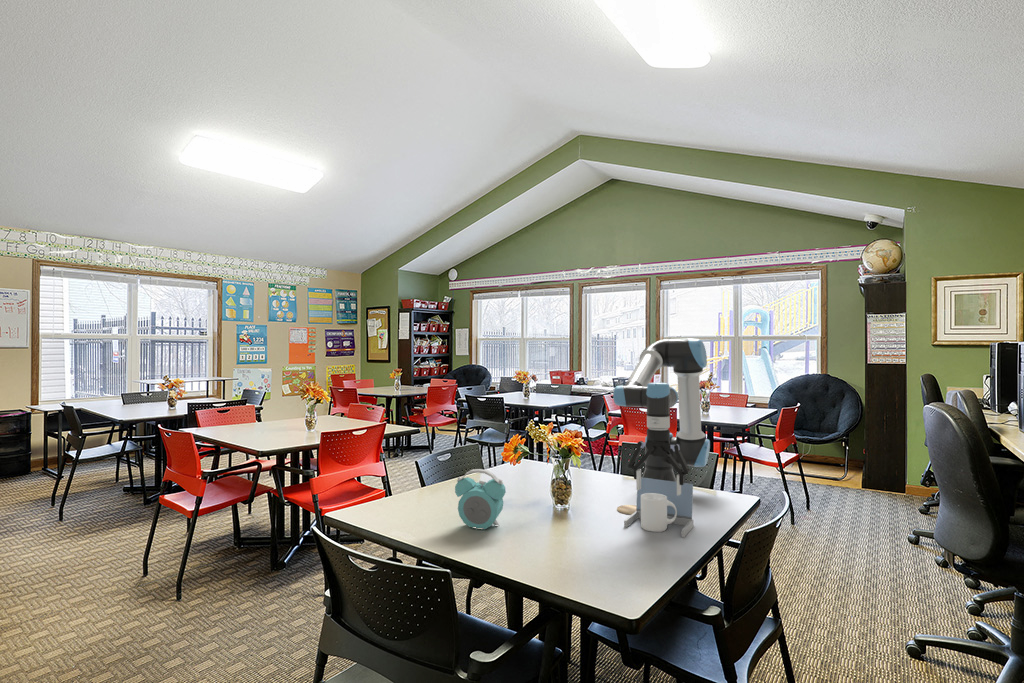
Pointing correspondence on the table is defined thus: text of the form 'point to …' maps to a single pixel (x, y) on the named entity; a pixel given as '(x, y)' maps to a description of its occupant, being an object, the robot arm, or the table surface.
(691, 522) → the bracket
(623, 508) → the coaster
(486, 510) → the alarm clock
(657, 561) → the table surface
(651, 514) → the mug
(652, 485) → the cover
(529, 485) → the table surface
